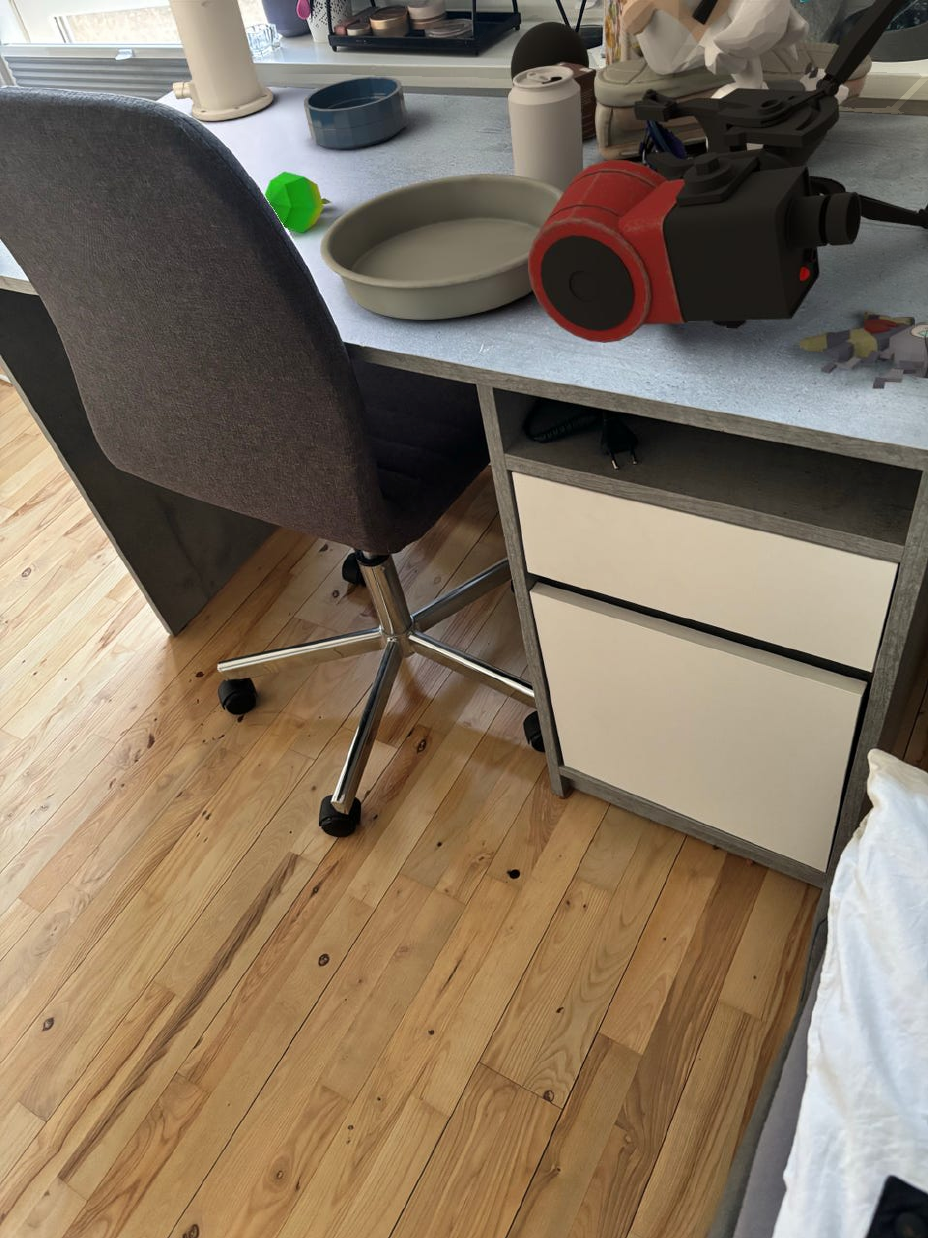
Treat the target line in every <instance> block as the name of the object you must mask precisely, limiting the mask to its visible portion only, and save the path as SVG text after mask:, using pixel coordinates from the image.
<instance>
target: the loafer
mask: <svg viewBox="0 0 928 1238" xmlns="http://www.w3.org/2000/svg"><path fill="white" fill-rule="evenodd" d="M838 46H839V44H837V43H830V42H817V41H814V42H813V41H802V42H801V41H799V42H797V43H795V48H796V53H797V58H798V61H795V60H794V59H792V58H791V57H790V56H789V55H788V54H787V53H786V52H785V51H784V50H783V49H782V48H781V49H774V50H770V51H766V52H764V53H762V54H760V55H759V58H760V62H761V67H762V73H763V80H789V79H791V80H796V81H800V80H801V79H802V77H803V76H804V75H805V69H806V67H807V65H808V64H809V63H810V62H812V61H813V62H812V69H814V68H816V67H818V69H824V70H825V69H826V67H827V66H828V64H829V62H830V60H831V59H832V57H833V55H834V53H835V52H836V50H837V48H838ZM872 66H873V61H872V58H871V56H870V55H869V54H868V55H867V56H866V58H865V59H864V60H863V61H862V63H861V64H860V65H859V66H858V67H857V69H856V70H855V71H854V72H853V74H852V75H851V76H850V77H849V79H848V80H847V81H846V82H845V83H844V84H841V85H843V86H846V87H848V88H849V89H850V92H849V95H848V96H847V98H846V99H845V100H843V101H842V103H841V104H839V106H842V105H843V104H847V103H850V102H855V100H858V99H859V98H860V97H861V93H862V91H863V89H864V87H865V85H866V81H867V76H868V74H869V73H870V71H871V69H872ZM735 82H736V81H735V80H734V78H733V77H732V75H731V74H723V75H715V74H714V73H712V72H711V71H710V70H708V69H707V67H706V64H705V65H702V66H699V67H697V68H694V69H691V70H686V71H682V72H677V73H672V74H666V75H661V74H657V73H655V72H654V71H653V70H652V69H651V68H650V67H649V65H648V63H647V61H646V59H645V58H643V59H637V60H629V61H623V62H618V63H614V64H611V65H608V66H606V65H605V66H603V67H602V68H601V69H600V70H599V71H598V72H596V76H595V81H594V88H595V96H596V98H597V106H596V114H595V125H596V140H597V144H598V149H599V150H600V155H601V156H602V157H603V158H604V160H605V161H607V160H625V159H631V158H636V157H641V156H640V155H639V154H638V151H639V145H640V142H643V141H644V138H645V134H646V131H647V127H648V126H647V120H637V119H636V117H635V112H634V106H635V101H640V100H642V98H643V97H644V94H645V93H646V91H647V90H649V89H653V90H655V91H656V93H659V94H662V95H664V96H667V97H670V98H672V99H675V100H676V101H677V103H679V102H683V101H686V100H690V99H694V98H699V97H700V98H711V97H712V96H713V95H714V94H715V93H716V92H717V91H718V90H719V89H720V88H722V87H724V86H725V85H727V84H731V83H735ZM659 124H662V125H663V127H664V129H665V128H667V129H668V131H669V132H671V131H672V132H673V134H674V136H675V137H676V136H677V137H678V138H679V139H680V140H681V142H682V143H683V146H684V147H685V146H691V145H695V144H699V143H705V142H706V135H705V132H704V130H703V129H702V127H701V125H700V124H699V122H698V121H697V120H696V118H695V117H694V116H687V117H682V118H677V119H672V120H668V122H659ZM648 131H649V130H648ZM647 135H648V132H647ZM647 135H646V138H647ZM650 138H651V136H650ZM649 141H650V139H649ZM645 142H646V139H645ZM648 144H649V142H648ZM648 144H647V146H648ZM652 149H653V148H652ZM651 151H652V150H651Z"/></svg>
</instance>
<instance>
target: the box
mask: <svg viewBox="0 0 928 1238" xmlns="http://www.w3.org/2000/svg"><path fill="white" fill-rule="evenodd" d="M553 66H562V67H567V68H570V69H571V70H572V71H573V76H572V78H573V79H574V80H575V81H576V82H577V83H578V84H579V85H580V99H581V125H582V141H584V140H587V139H588V138H592V137H594V136H597V134H596V125H595V114H596V106H597V102H598V100H597V98H596V96H595V88H594V81H595V76H596V74H597V69H595V68H590V67H589V68H587V67H584V66H582V65H578V64H571V63H566V62H560V63H558V64H555V65H553Z"/></svg>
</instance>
